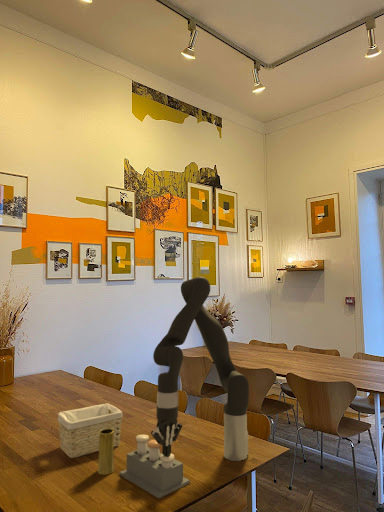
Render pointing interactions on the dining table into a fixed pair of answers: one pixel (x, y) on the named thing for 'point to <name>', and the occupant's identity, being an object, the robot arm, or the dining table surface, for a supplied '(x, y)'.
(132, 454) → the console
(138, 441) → the knob far
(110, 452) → the vase
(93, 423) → the storage basket
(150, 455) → the knob mid
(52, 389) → the dining table surface
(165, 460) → the knob near
